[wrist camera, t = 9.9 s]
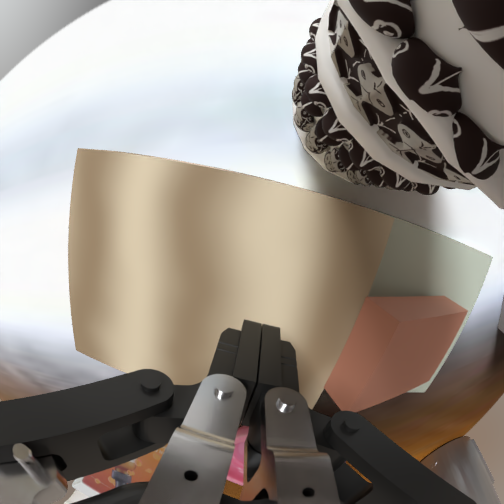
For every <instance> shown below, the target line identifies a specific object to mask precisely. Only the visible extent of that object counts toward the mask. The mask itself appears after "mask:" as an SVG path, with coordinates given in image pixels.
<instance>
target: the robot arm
mask: <svg viewBox="0 0 504 504" xmlns="http://www.w3.org/2000/svg"><path fill="white" fill-rule="evenodd" d="M242 418H243V419H242ZM241 420H242V425H244V426H249V431H248V435H247V438H246V440H245V443H244V474H243V489H242V492H241V496H240V500H238V499H235V498H233V497H230V496H227V495H225V494H222V493H223V489H224V486H225V482H226V479H227V475H228V471H229V468H230V464H231V460H232V456H233V453H234V448H235V444H234V442H235V438H236V434H237V430H238V427H239V425H240V423H241ZM167 444H168V445H167ZM165 445H167V447H166V449H165V451H164V453H163V455H162V457H161V459H160V461H159V463H158V465H157V467H156V469H155V471H154V473H153V475H152V477H151V479H150V481H146V482H135V483H129V484H125V485H121V486H119V487H116V488H114V489H111V490H109V491H106V492H103V493H101V494H98V495H95V496H92V497H89V498H86V499H83V500H80V501H77V502H74V503H71V504H501V503H500V500H499V498H498V496H497V493H496V491H495V488H494V486H493V483H494V479H493V477H492V474H491V472H490V470H489V468H488V466H487V464H486V462H485V460H484V458H483V456H482V454H481V452H480V450H479V448H478V446H477V445H476V443H475V441H474V439H473V440H471V439H470V437H468V436H464V437H460V438H458V439H455V440H453V441H451V442H449V443H447V444H445V445H444V446H442V447H440V448H439V449H437V450H436V451H434V452H433V453H431V454H430V455H429V456H427V457H426V458H425V459H424V460H423V461H421V462H419V461H418V460H416V459H415V458H414V457H412V456H411V455H410V454H408V453H407V452H406V451H405V450H403V449H402V448H401V447H399V446H398V445H397V444H396V443H394V442H393V441H392V440H391V439H389V438H388V437H387V436H386V435H384V434H383V433H382V432H381V431H379V430H378V429H377V428H376V427H374V426H373V425H372V424H371V423H370V422H368V421H367V420H366V419H365V418H364V417H362V416H361V415H359V414H358V413H355V412H352V411H339V412H337V413H335V414H334V415H333V416H332V417H329V416H326V415H323V414H320V413H318V412H315V411H313V410H312V409H310V408H309V407H308V404H307V401H306V399H305V398H304V396H302V395H301V394H300V392H299V381H298V370H297V361H296V350H295V349H294V347H293V346H292V344H291V343H290V342H288V341H283V340H281V334H280V327H275V326H271V325H267V324H262V326H261V323H258V322H254V321H250V320H246V319H244V321H243V325H242V328H241V331H240V330H236V329H232V328H227V329H226V330H225V331H223V332H222V333H221V335H220V338H219V342H218V345H217V348H216V351H215V354H214V357H213V360H212V363H211V366H210V369H209V373H208V375H207V377H206V378H205V379H204V380H203V381H201V382H200V383H197V384H194V385H174V384H173V382H172V380H171V379H170V378H169V377H168V376H167V375H166V374H164V373H162V372H160V371H158V370H154V369H141V370H137V371H134V372H130V373H127V374H123V375H120V376H116V377H113V378H109V379H105V380H102V381H98V382H94V383H90V384H86V385H82V386H78V387H74V388H70V389H65V390H61V391H56V392H51V393H47V394H42V395H37V396H31V397H26V398H20V399H14V400H8V401H1V402H0V504H52V503H54V502H56V501H58V500H60V499H62V498H63V497H64V496H65V494H66V493H67V488H68V485H67V481H70V480H74V479H77V478H81V477H84V476H88V475H91V474H94V473H97V472H100V471H104V470H106V469H109V468H112V467H115V466H118V465H121V464H123V463H126V462H129V461H131V460H134V459H136V458H139V457H141V456H144V455H146V454H148V453H151V452H153V451H155V450H158V449H160V448H162V447H164V446H165ZM346 460H347V461H348V462H349V463H350V464H351V465H352V466H354V467H355V468H356V469H357V470H358V471H359V472H360V473H362V474H363V475H364V476H365V477H366V478H367V479H369V480H370V481H371V482H372V483H369V482H367V481H366V480H364V479H363V478H362V477H361V476H360V475H359V474H357V473H356V472H355V471H354V470H353V469H352V468H351V467H349V466H348V465H347V464H346V463H345V461H346Z"/></svg>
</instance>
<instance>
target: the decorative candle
mask: <svg viewBox="0 0 504 504" xmlns="http://www.w3.org/2000/svg"><path fill="white" fill-rule="evenodd" d="M309 34H310V37H311V38H310V39H309V40H308V42H307V44H306V45H305V46H304V47H303V49H302V52H301V59H302V60H301V63H300V65H299V67H298V75H297V76H296V78H295V80H294V88H293V91H292V99H293V124H294V126H295V128H296V130H297V133H298V135H299V137H300V139H301V142H302V144H303V146H304V149H305V150H306V151H307V152H308V153H309V154H310V155H311V156H312V157H313V158H314V159H315V160H316V161H317V162H318V163H319V164H320V165H321V166H322V167H323V168H324V170H326V171H328V172H330V173H332V174H334V175H336V176H338V177H340V178H343V179H345V180H347V181H349V182H352V183H354V184H356V185H358V184H362V185H364V186H370V185H371V184H373V185H374V186H376V187H379V188H380V187H386V188H387V189H391V190H392V189H395V190H404V191H414V190H416V191H418V192H419V193H421V194H425V195H431V194H434V193H436V192H437V191H438V189H439V186H443V187H444V188H447V189H454V188H458V189H465V190H470V189H472V188H475V187H478V188H479V189H480V190H481V191H482V192H483V193H484V194H486V195H487V196H488V197H489V198H490V199H491V200H492V201H493V202H494V203H495V204H496V205H497V206H498V207H499V208H501V209H504V0H330V2H329V4H328V6H327V8H326V10H325V12H324V14H323V16H322V18H319V19H316V20H315V21H314V22H313V23H312V24H311V26H310V29H309Z"/></svg>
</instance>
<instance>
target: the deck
mask: <svg viewBox="0 0 504 504" xmlns="http://www.w3.org/2000/svg"><path fill="white" fill-rule="evenodd" d="M394 219H395V218H392V217H390V216H387V215H385V214H382V213H380V212H377V211H374V210H372V209H369V208H366V207H363V206H360V205H357V204H354V203H351V202H348V201H344V200H341V199H338V198H334V197H331V196H328V195H324V194H321V193H317V192H314V191H310V190H307V189H303V188H299V187H296V186H292V185H288V184H284V183H280V182H276V181H272V180H268V179H264V178H260V177H256V176H252V175H247V174H243V173H238V172H234V171H229V170H225V169H220V168H215V167H210V166H205V165H200V164H195V163H189V162H184V161H178V160H172V159H166V158H160V157H154V156H147V155H140V154H133V153H126V152H118V151H108V150H95V149H80V148H78V150H77V156H76V162H75V169H74V176H73V184H72V193H71V204H70V217H69V241H68V268H69V291H70V305H71V316H72V325H73V333H74V340H75V346H76V350H77V351H79V352H81V353H83V354H85V355H87V356H89V357H91V358H93V359H96V360H98V361H100V362H102V363H104V364H106V365H109V366H111V367H113V368H116V369H118V370H120V371H123V372H125V373H130V372H134V371H137V370H141V369H154V370H158V371H160V372H162V373H164V374H166V375H167V376H168V377H169V378H170V379H171V380H172V382H173V384H174V385H194V384H197V383H200V382H201V381H203V380H204V379H205V378H206V377H207V375H208V373H209V369H210V366H211V363H212V360H213V357H214V354H215V351H216V348H217V345H218V342H219V338H220V335H221V333H222V332H223V331H225V330H226V329H227V328H232V329H236V330H240V331H241V328H242V325H243V321H244V319H246V320H250V321H254V322H258V323H261V326H262V324H267V325H271V326H275V327H280V334H281V340H283V341H288V342H290V343H291V344H292V346H293V347H294V349H295V350H296V361H297V370H298V381H299V392H300V394H301V395H302V396H304V398H305V399H306V401H307V404H308V407H309V408H310V409H313V407H314V406H315V404H316V402H317V400H318V399H319V397H320V395H321V393H322V391H323V390H324V386H325V384H326V382H327V380H328V378H329V376H330V374H331V372H332V370H333V368H334V367H335V365H336V363H337V361H338V359H339V357H340V355H341V352H342V350H343V348H344V346H345V344H346V342H347V340H348V338H349V336H350V333H351V331H352V329H353V327H354V324H355V322H356V320H357V318H358V315H359V313H360V310H361V308H362V306H363V303H364V301H365V298H366V297H368V294H369V292H370V289H371V287H372V284H373V281H374V279H375V276H376V273H377V271H378V268H379V265H380V262H381V259H382V257H383V254H384V251H385V248H386V245H387V242H388V238H389V235H390V232H391V229H392V226H393V222H394Z"/></svg>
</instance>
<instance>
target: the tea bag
mask: <svg viewBox="0 0 504 504" xmlns="http://www.w3.org/2000/svg"><path fill="white" fill-rule="evenodd" d="M498 328H499V329H500V330H501V331H502V332H503V333H504V297H503V303H502V309H501V314H500V319H499V324H498Z"/></svg>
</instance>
